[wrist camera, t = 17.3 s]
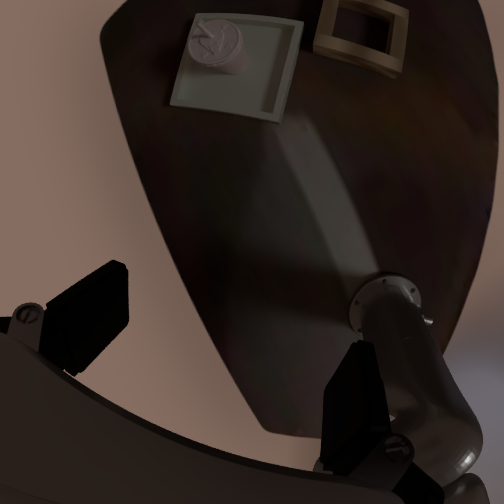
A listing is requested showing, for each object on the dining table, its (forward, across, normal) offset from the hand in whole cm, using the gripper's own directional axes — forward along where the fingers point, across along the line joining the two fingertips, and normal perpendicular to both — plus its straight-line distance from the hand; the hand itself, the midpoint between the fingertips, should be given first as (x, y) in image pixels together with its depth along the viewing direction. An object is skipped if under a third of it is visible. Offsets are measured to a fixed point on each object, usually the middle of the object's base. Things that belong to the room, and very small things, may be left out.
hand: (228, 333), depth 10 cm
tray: (+30, +12, -18) cm, 37 cm away
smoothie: (+30, +12, -18) cm, 37 cm away
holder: (+30, -4, -28) cm, 41 cm away
